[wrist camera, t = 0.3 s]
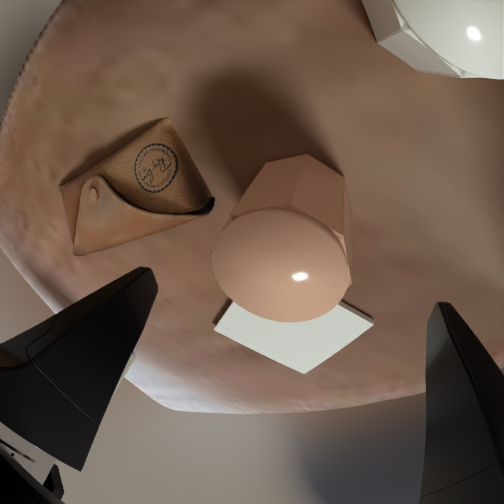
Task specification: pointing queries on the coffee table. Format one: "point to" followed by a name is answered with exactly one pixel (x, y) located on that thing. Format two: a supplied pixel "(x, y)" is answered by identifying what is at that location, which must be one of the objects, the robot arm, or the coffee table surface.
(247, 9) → the coffee table surface
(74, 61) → the coffee table surface
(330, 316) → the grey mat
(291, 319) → the terracotta cup
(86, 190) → the sunglasses case
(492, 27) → the off-white cup
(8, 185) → the coffee table surface
